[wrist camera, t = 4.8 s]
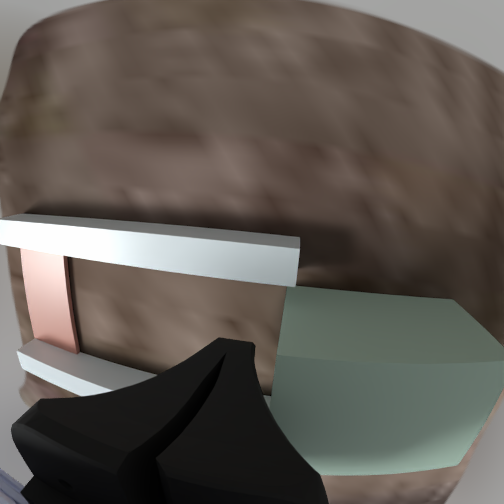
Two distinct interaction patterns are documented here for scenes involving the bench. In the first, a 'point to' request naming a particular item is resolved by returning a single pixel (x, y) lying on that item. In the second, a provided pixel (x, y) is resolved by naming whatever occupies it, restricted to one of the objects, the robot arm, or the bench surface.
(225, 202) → the bench surface
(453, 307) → the block
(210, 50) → the bench surface
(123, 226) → the channel
